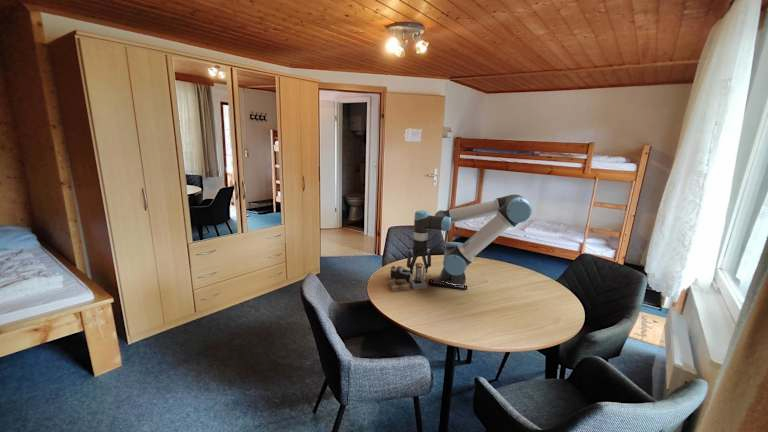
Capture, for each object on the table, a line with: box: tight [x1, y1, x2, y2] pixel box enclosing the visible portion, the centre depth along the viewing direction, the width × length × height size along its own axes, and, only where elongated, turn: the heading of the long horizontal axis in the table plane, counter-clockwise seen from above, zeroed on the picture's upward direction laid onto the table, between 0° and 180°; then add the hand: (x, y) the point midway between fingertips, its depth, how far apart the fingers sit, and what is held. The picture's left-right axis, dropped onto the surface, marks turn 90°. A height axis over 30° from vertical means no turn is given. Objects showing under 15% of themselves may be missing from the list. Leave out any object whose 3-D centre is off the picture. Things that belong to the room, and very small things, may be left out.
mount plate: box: [408, 278, 428, 290], centre depth 184 cm, size 8×8×2 cm
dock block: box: [387, 279, 411, 293], centre depth 181 cm, size 10×10×2 cm
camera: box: [390, 265, 411, 284], centre depth 192 cm, size 13×8×9 cm, turn 58°
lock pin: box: [414, 262, 424, 284], centre depth 183 cm, size 4×4×13 cm
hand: (418, 278), depth 183 cm, fingers open, 6 cm apart
